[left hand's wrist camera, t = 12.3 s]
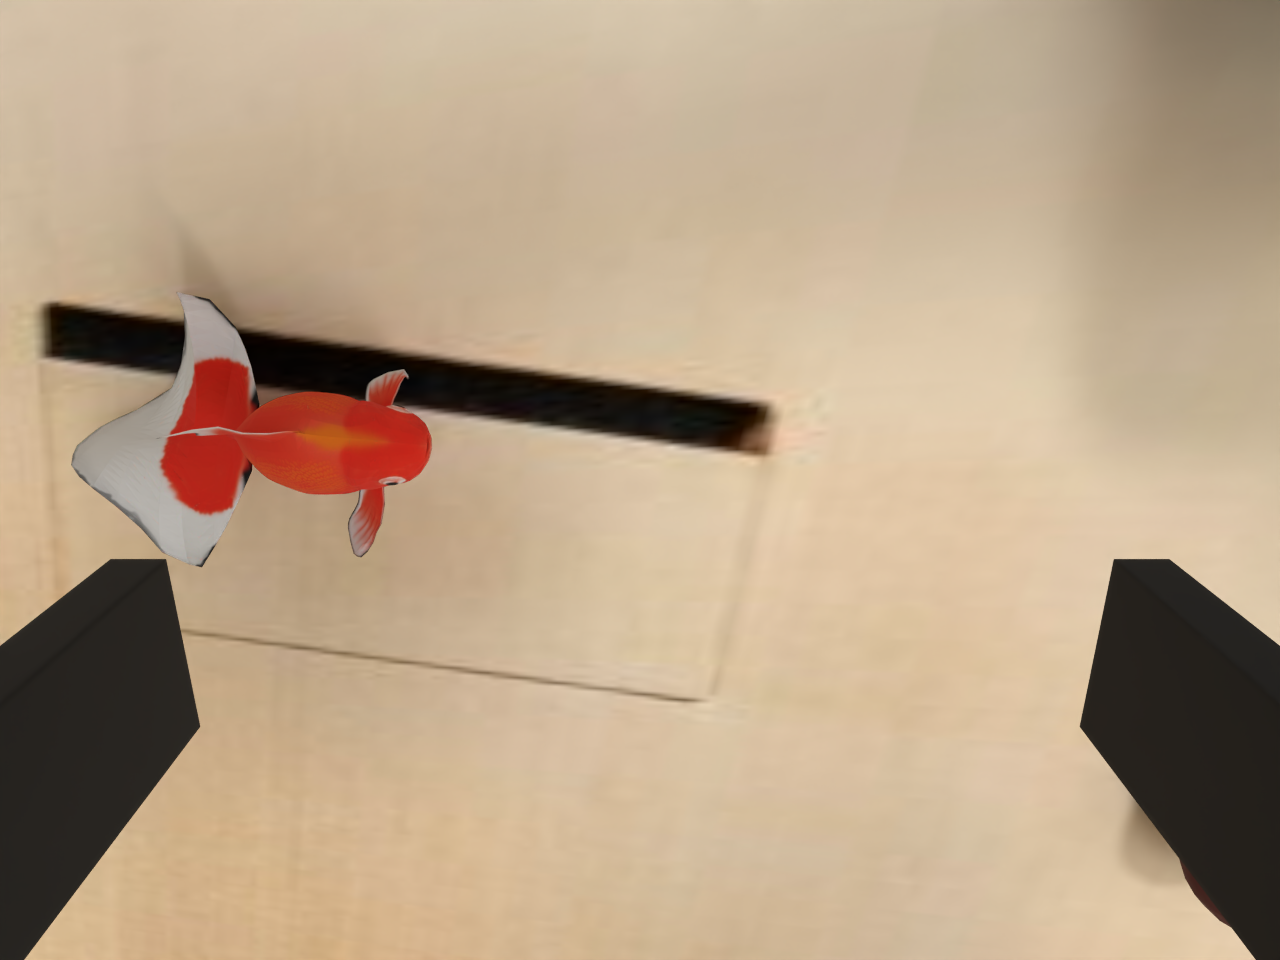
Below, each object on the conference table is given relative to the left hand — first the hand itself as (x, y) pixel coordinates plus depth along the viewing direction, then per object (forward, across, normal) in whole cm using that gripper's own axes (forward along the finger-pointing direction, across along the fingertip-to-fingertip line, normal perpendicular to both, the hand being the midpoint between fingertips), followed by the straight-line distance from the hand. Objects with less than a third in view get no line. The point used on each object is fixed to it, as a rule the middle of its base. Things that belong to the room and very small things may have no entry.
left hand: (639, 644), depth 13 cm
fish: (+28, -16, -5) cm, 32 cm away
